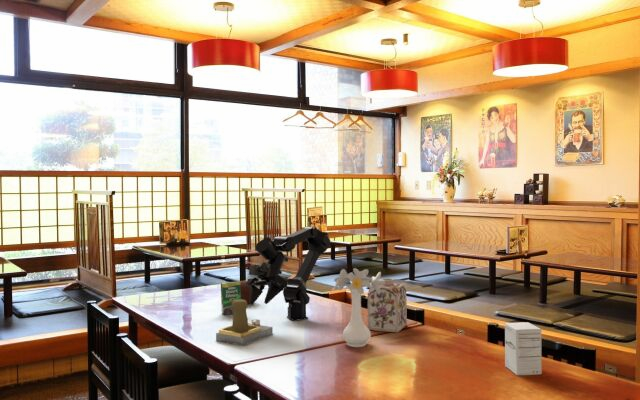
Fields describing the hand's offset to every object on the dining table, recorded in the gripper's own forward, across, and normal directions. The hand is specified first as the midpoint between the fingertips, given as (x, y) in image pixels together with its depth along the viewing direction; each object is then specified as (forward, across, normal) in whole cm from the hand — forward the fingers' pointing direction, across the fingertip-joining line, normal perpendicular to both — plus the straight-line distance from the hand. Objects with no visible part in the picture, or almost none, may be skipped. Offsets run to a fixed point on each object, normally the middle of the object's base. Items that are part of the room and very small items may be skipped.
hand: (258, 303), depth 190 cm
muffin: (-12, -46, +21) cm, 52 cm away
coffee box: (-2, -34, +10) cm, 35 cm away
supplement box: (+4, +82, +38) cm, 91 cm away
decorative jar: (-9, +26, +39) cm, 48 cm away
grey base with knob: (+13, 0, 0) cm, 13 cm away
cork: (+12, +1, -3) cm, 13 cm away
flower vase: (+5, +33, +22) cm, 40 cm away
